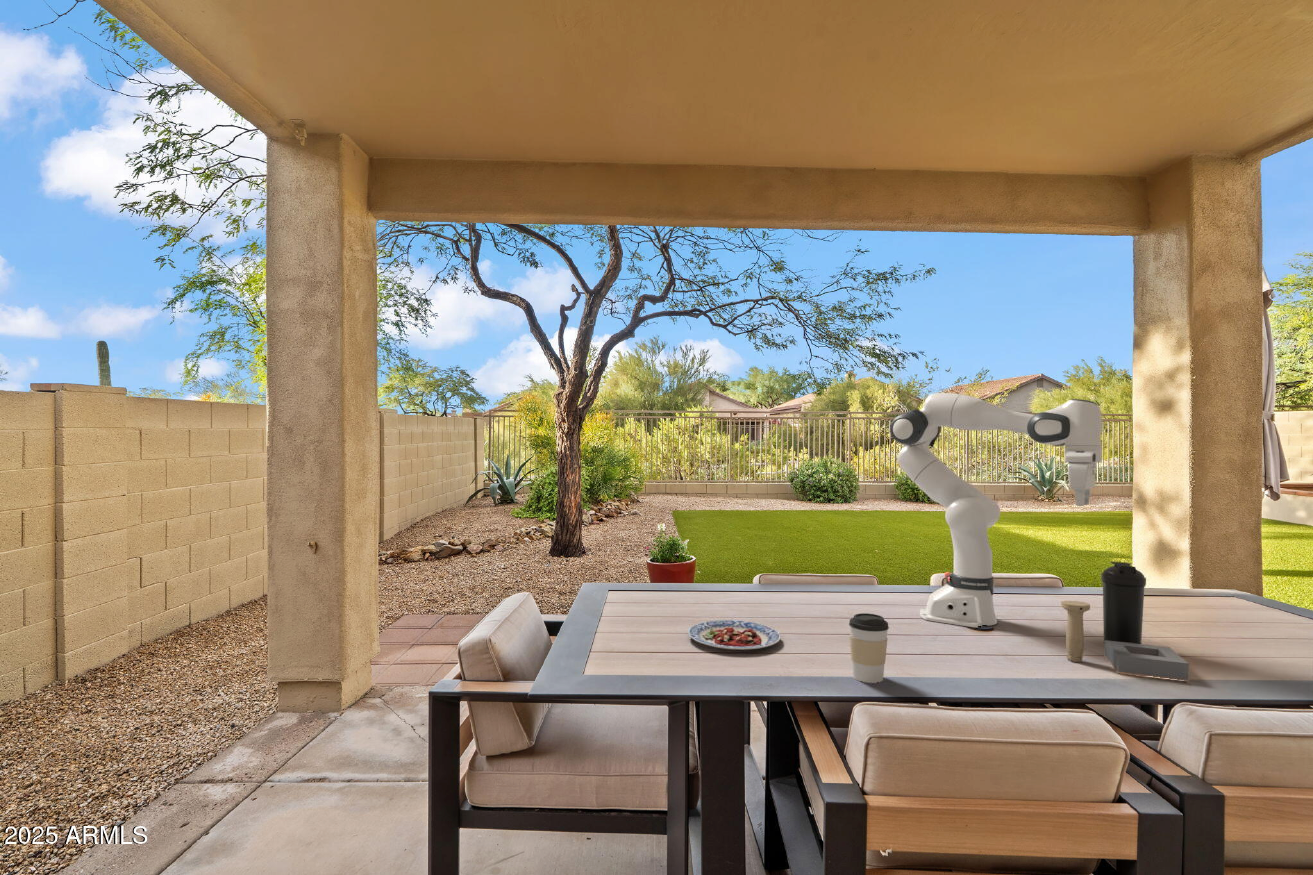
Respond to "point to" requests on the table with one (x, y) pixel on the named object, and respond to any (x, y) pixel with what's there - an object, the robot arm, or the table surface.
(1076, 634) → the handle
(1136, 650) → the socket block
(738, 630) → the ceramic plate
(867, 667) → the coffee cup
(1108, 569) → the water bottle
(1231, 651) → the table surface
